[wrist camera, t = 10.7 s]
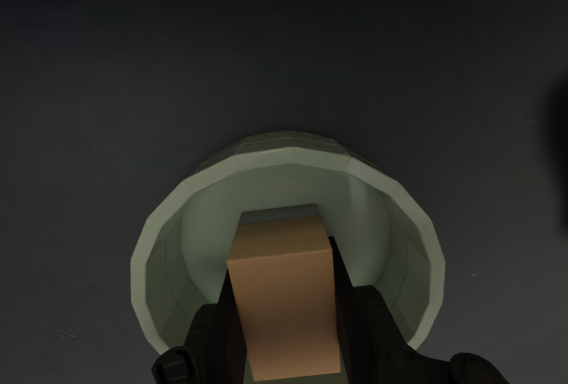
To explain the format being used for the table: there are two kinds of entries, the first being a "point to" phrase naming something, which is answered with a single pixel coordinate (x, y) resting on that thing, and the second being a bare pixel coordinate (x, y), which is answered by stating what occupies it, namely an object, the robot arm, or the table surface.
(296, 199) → the bowl
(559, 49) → the table surface
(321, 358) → the eraser
